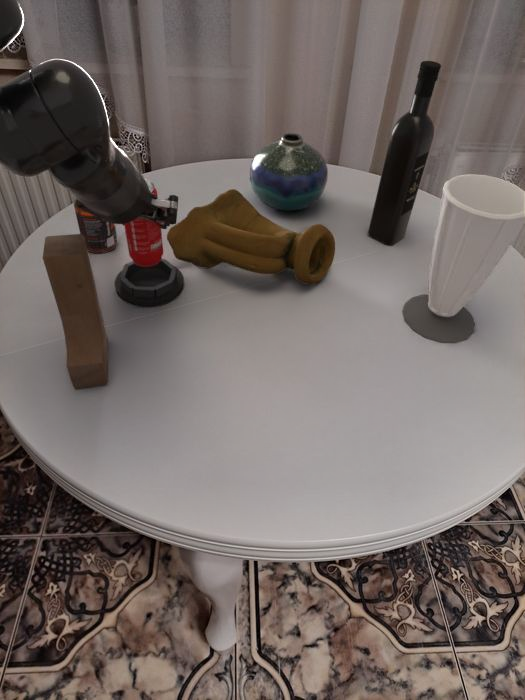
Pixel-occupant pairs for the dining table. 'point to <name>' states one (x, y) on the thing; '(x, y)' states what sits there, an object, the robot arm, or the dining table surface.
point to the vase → (288, 173)
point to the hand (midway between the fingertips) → (145, 220)
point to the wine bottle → (405, 162)
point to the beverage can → (144, 239)
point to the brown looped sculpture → (250, 241)
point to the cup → (465, 252)
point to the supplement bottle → (96, 231)
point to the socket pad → (149, 284)
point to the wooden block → (78, 309)
